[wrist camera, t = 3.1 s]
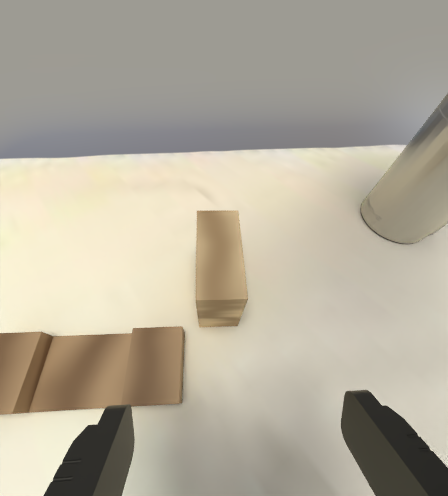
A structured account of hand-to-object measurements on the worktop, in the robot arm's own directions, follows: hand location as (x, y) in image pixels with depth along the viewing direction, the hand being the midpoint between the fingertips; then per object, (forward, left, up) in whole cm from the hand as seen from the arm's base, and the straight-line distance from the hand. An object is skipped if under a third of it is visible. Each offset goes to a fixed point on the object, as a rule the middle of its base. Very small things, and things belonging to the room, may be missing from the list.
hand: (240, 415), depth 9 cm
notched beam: (+12, -3, -14) cm, 19 cm away
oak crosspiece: (0, -11, -14) cm, 18 cm away
